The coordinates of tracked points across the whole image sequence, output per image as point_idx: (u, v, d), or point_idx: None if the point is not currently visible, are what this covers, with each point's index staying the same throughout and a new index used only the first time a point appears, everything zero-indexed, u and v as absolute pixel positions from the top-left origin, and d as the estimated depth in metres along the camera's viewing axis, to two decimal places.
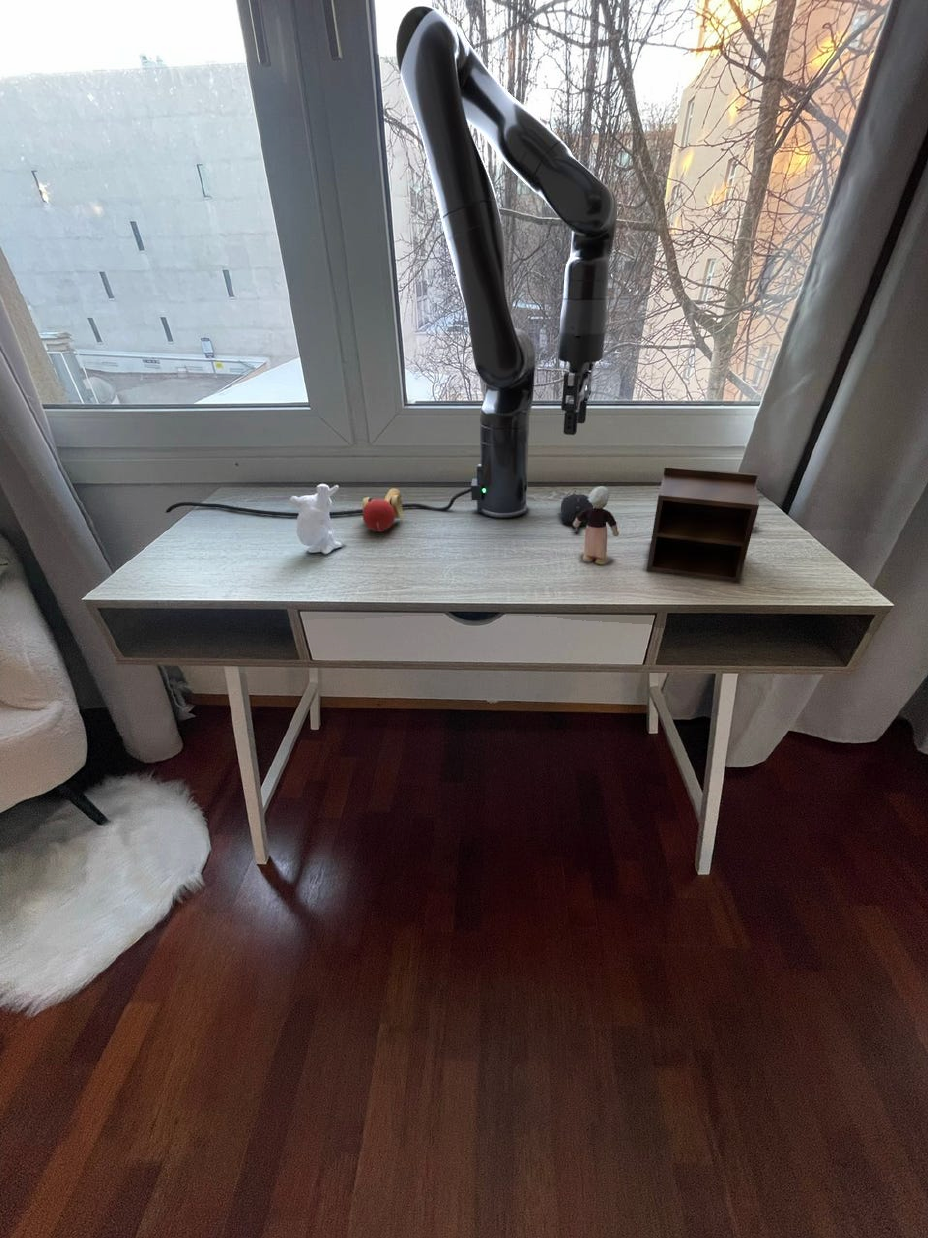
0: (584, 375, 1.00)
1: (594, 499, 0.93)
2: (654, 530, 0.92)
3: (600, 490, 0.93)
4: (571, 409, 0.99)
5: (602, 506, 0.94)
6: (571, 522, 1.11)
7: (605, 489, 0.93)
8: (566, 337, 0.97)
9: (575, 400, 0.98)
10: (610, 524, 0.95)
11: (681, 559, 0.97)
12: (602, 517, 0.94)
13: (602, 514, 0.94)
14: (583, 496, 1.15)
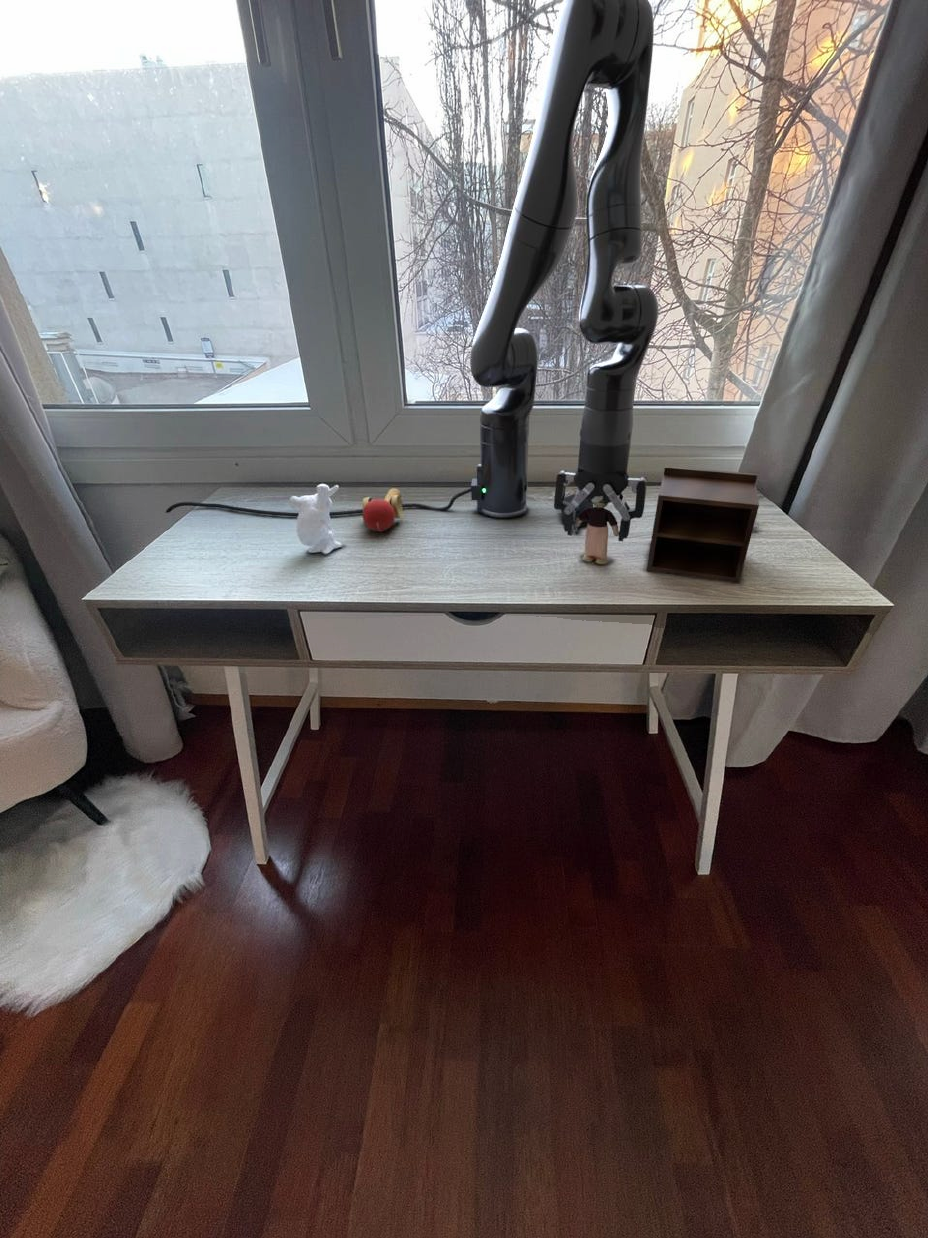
0: (587, 482, 0.92)
1: (595, 498, 0.93)
2: (654, 530, 0.92)
3: None
4: None
5: (603, 505, 0.94)
6: None
7: None
8: None
9: None
10: (611, 524, 0.95)
11: (681, 559, 0.97)
12: (603, 516, 0.94)
13: (603, 513, 0.94)
14: None
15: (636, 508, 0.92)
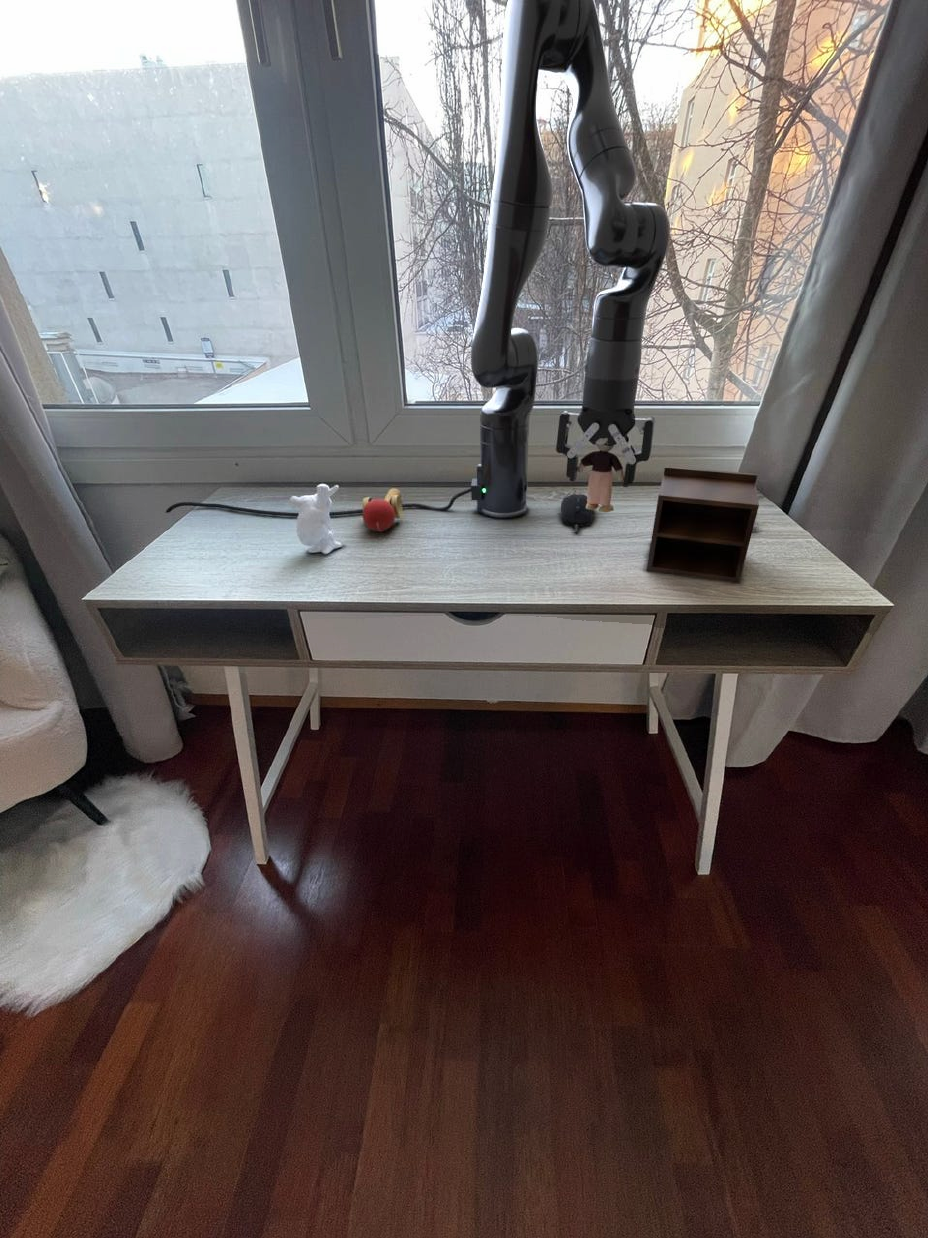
0: (592, 423, 0.88)
1: (600, 440, 0.88)
2: (654, 530, 0.92)
3: None
4: None
5: (608, 448, 0.89)
6: (571, 522, 1.11)
7: None
8: None
9: (557, 440, 0.91)
10: (616, 468, 0.90)
11: (681, 559, 0.97)
12: (608, 460, 0.90)
13: (608, 457, 0.90)
14: (583, 496, 1.15)
15: (642, 450, 0.87)
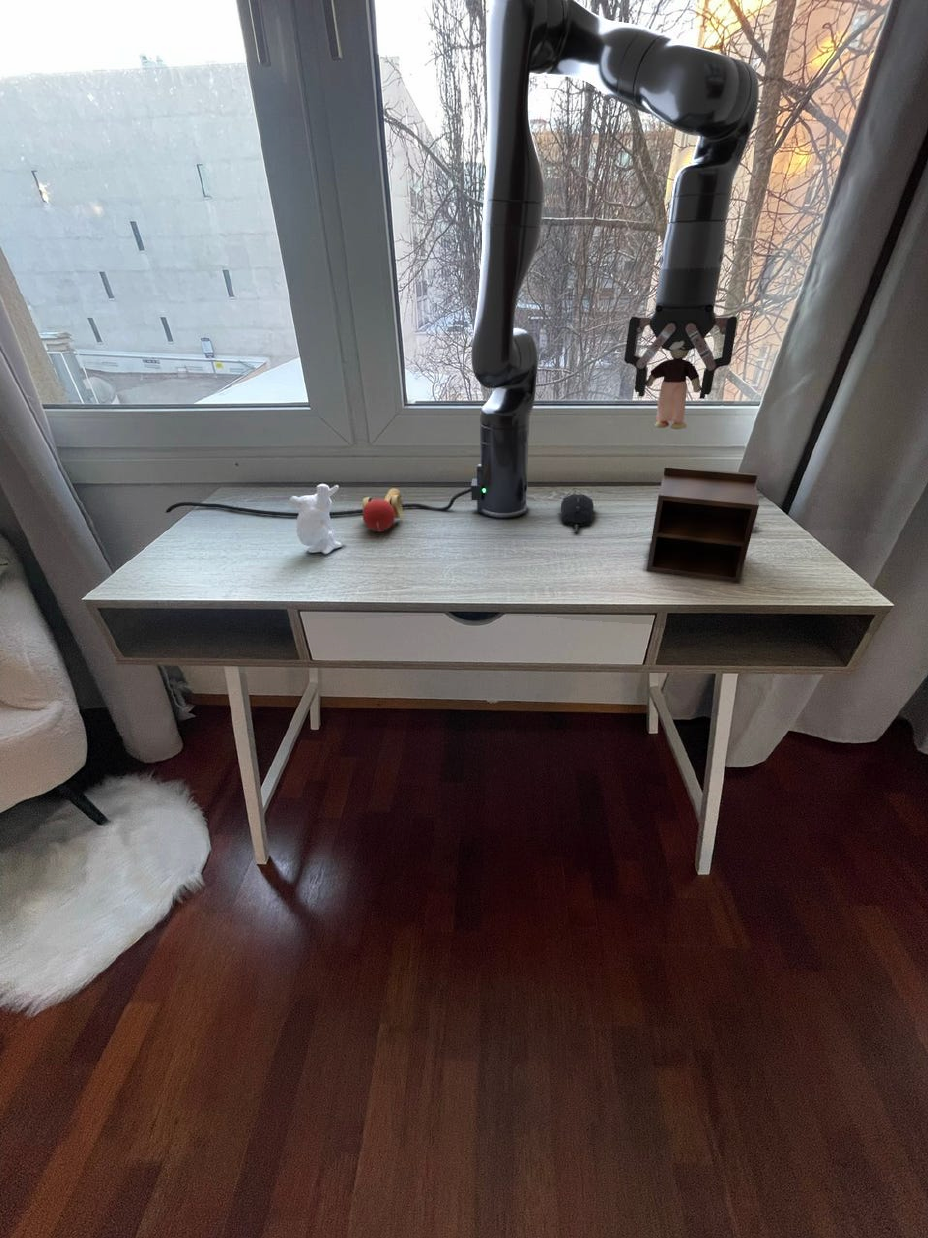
0: (667, 324, 0.79)
1: (675, 344, 0.80)
2: (654, 530, 0.92)
3: None
4: None
5: (683, 354, 0.81)
6: (571, 522, 1.11)
7: None
8: None
9: None
10: (691, 377, 0.82)
11: (681, 559, 0.97)
12: (683, 368, 0.82)
13: (683, 364, 0.82)
14: (583, 496, 1.15)
15: (724, 353, 0.79)
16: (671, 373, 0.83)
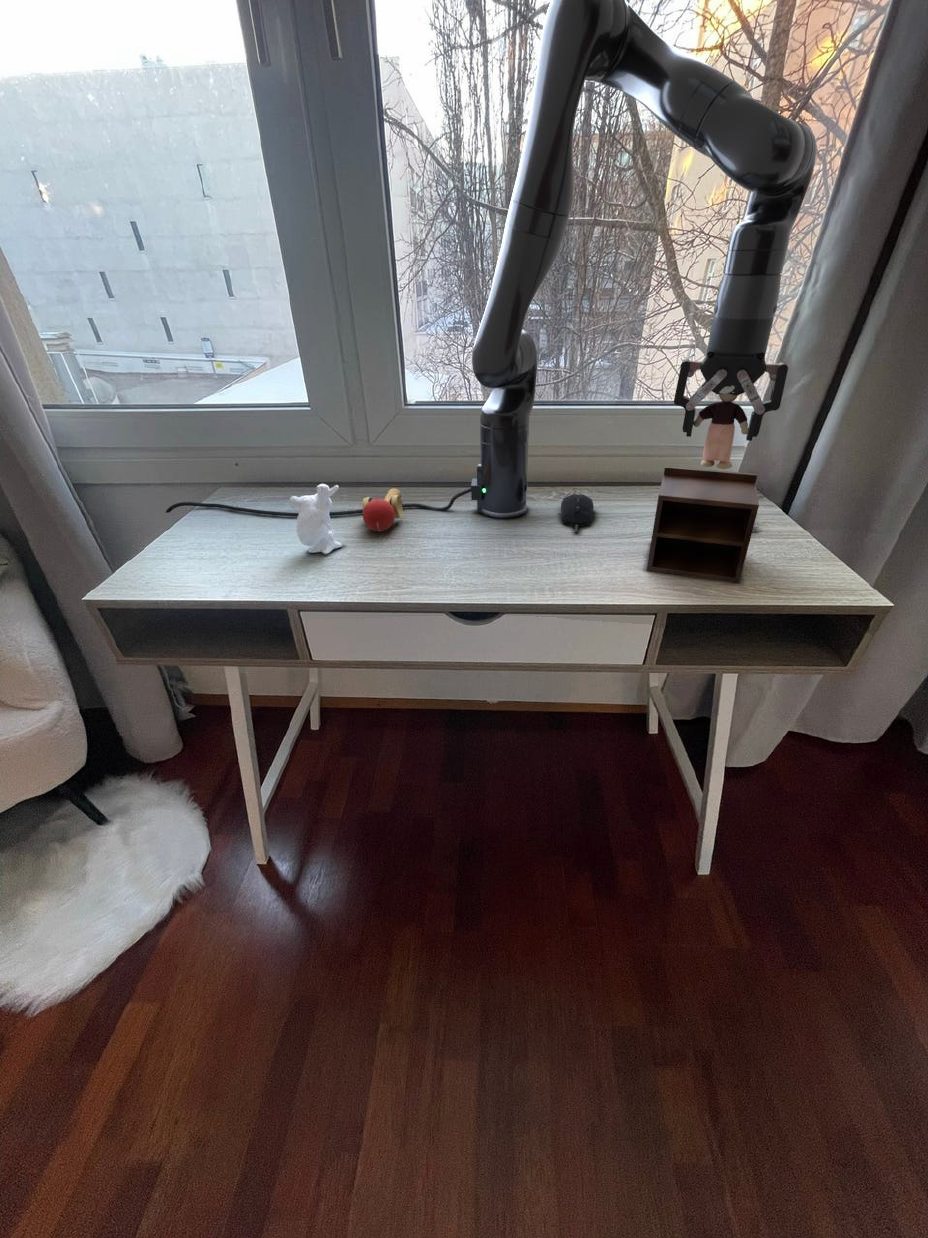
0: (718, 370, 0.82)
1: (725, 388, 0.82)
2: (654, 530, 0.92)
3: None
4: None
5: (733, 398, 0.84)
6: (571, 522, 1.11)
7: None
8: None
9: None
10: (740, 419, 0.84)
11: (681, 559, 0.97)
12: (732, 411, 0.84)
13: (732, 407, 0.84)
14: (583, 496, 1.15)
15: (773, 398, 0.81)
16: (720, 415, 0.85)
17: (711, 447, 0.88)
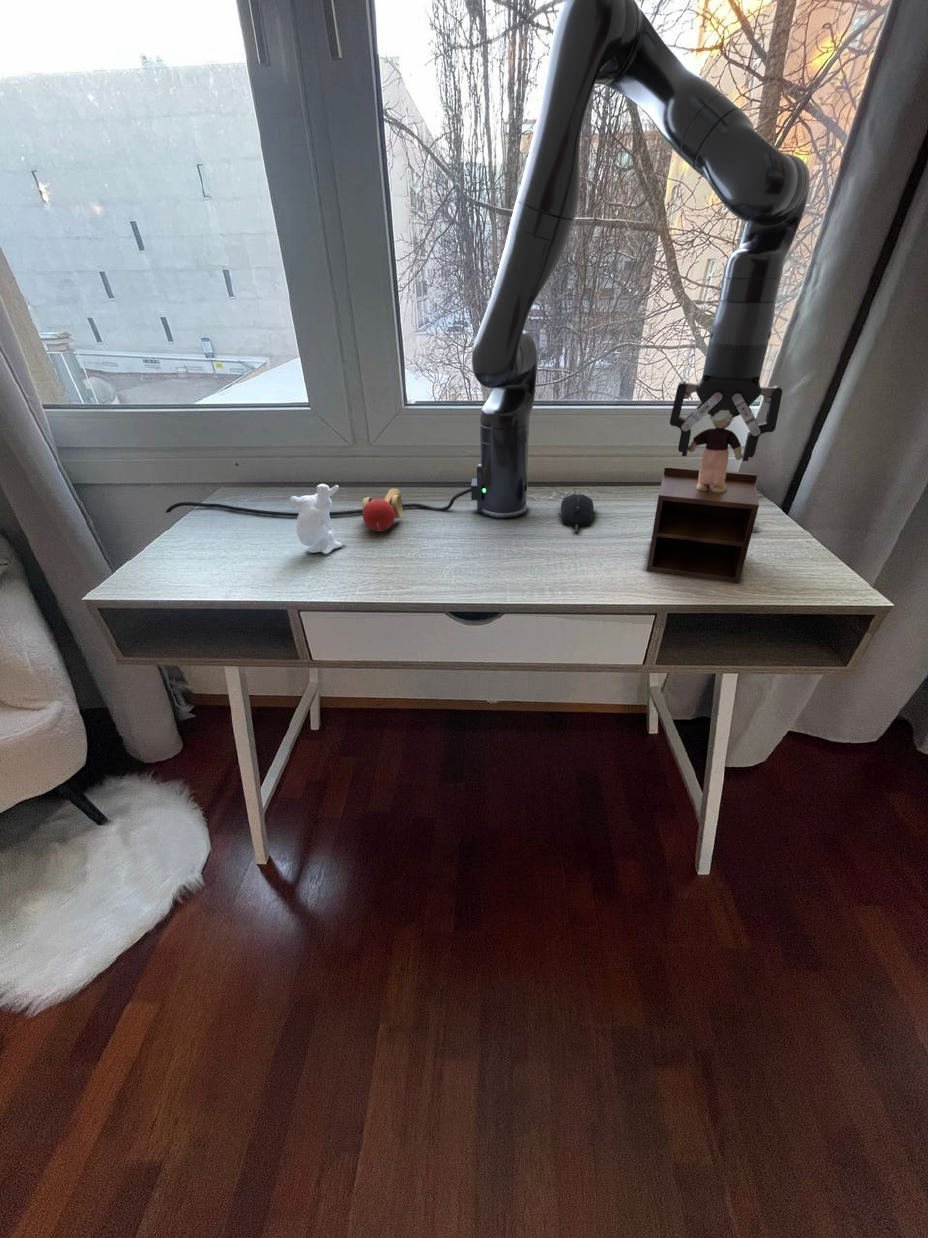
0: (713, 393, 0.83)
1: (718, 416, 0.84)
2: (654, 530, 0.92)
3: None
4: None
5: (726, 425, 0.85)
6: (571, 522, 1.11)
7: None
8: None
9: None
10: (734, 445, 0.86)
11: (681, 559, 0.97)
12: (725, 438, 0.86)
13: (725, 434, 0.86)
14: (583, 496, 1.15)
15: (769, 420, 0.83)
16: (714, 442, 0.87)
17: (706, 472, 0.89)
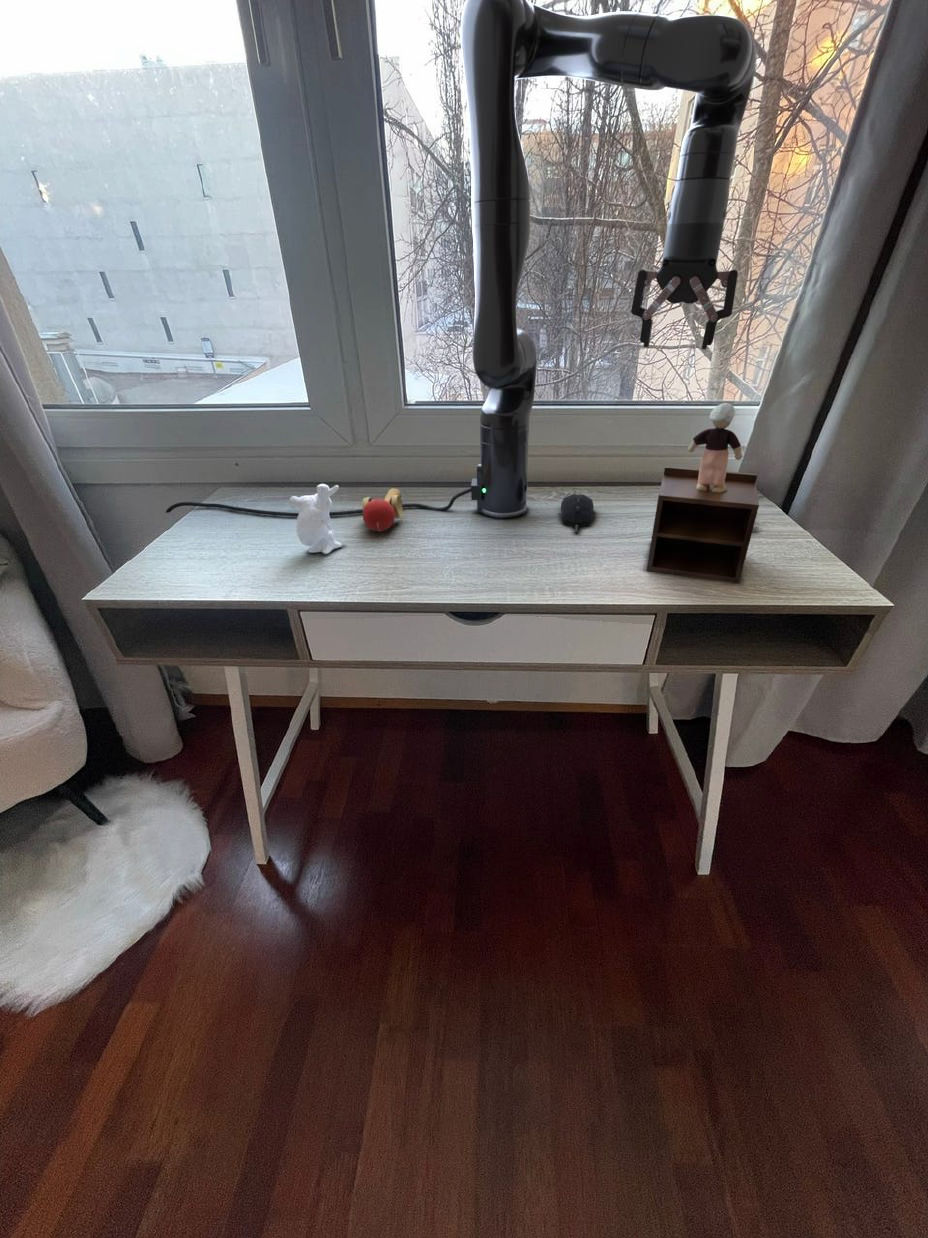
0: (672, 278, 0.85)
1: (718, 416, 0.84)
2: (654, 530, 0.92)
3: (725, 406, 0.84)
4: None
5: (726, 425, 0.85)
6: (571, 522, 1.11)
7: (730, 405, 0.84)
8: None
9: None
10: (733, 445, 0.86)
11: (681, 559, 0.97)
12: (725, 438, 0.86)
13: (725, 434, 0.86)
14: (583, 496, 1.15)
15: (725, 305, 0.85)
16: (714, 442, 0.87)
17: (706, 472, 0.89)
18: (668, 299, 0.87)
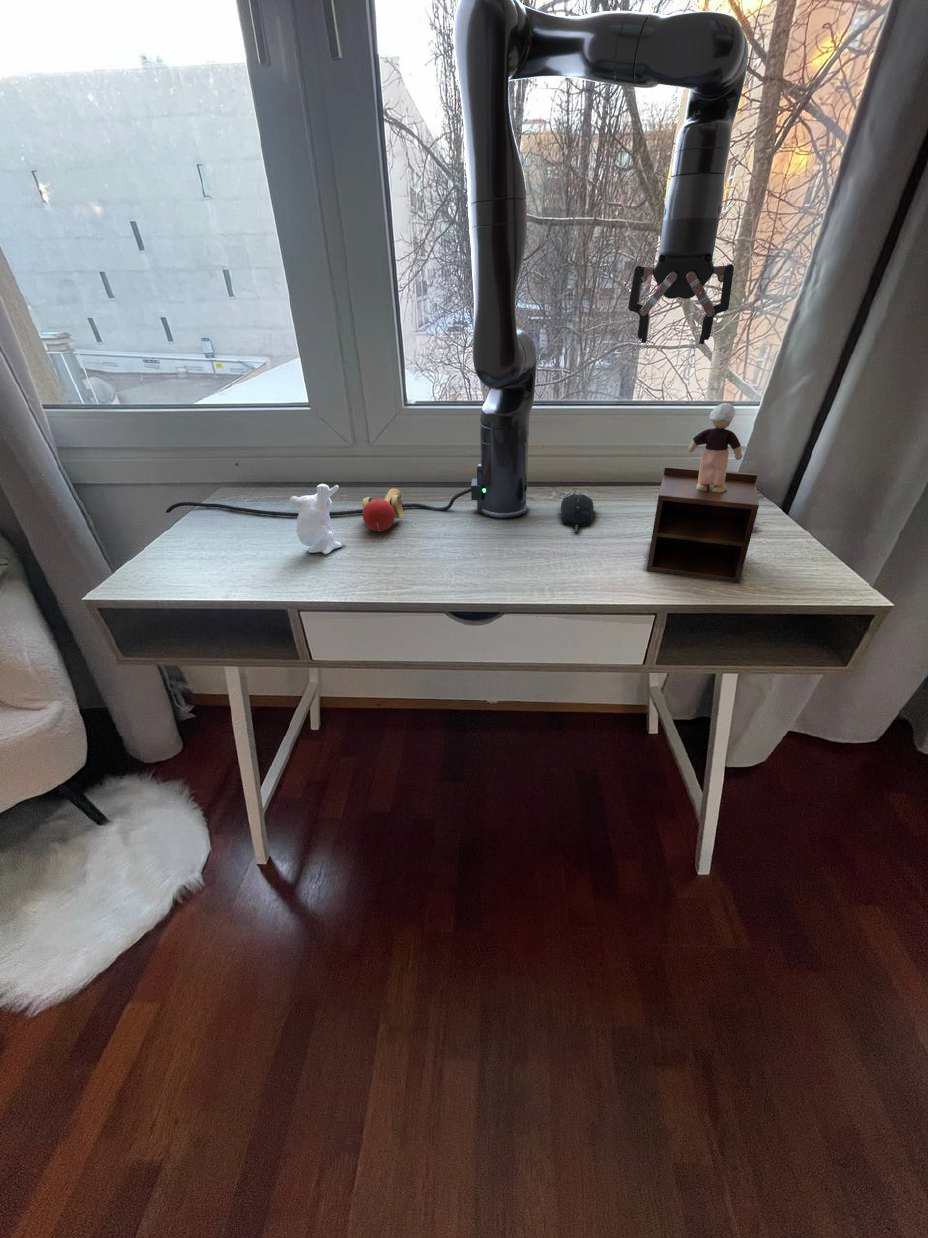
0: (669, 273, 0.86)
1: (718, 416, 0.84)
2: (654, 530, 0.92)
3: (725, 406, 0.84)
4: None
5: (726, 425, 0.85)
6: (571, 522, 1.11)
7: (730, 405, 0.84)
8: None
9: (630, 297, 0.89)
10: (733, 445, 0.86)
11: (681, 559, 0.97)
12: (725, 438, 0.86)
13: (725, 434, 0.86)
14: (583, 496, 1.15)
15: (722, 299, 0.85)
16: (714, 442, 0.87)
17: (706, 472, 0.89)
18: (665, 295, 0.88)
